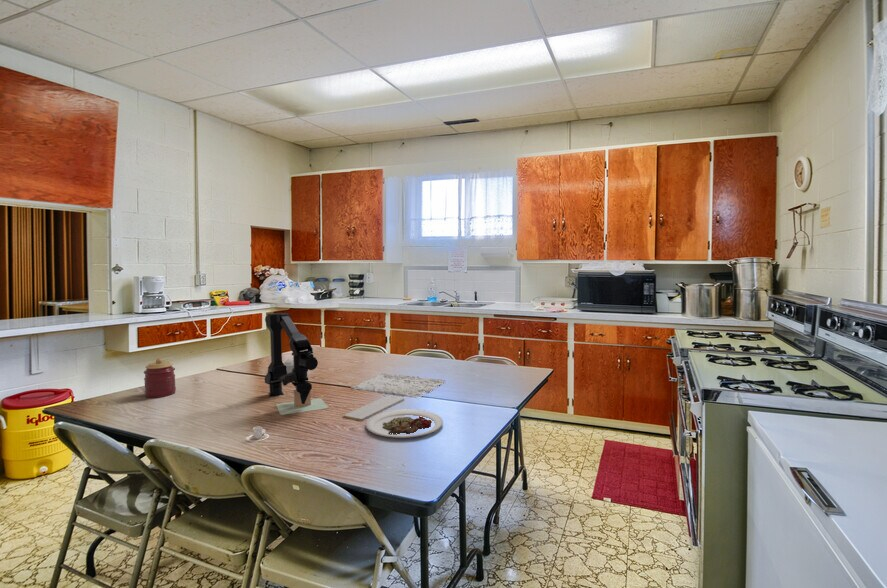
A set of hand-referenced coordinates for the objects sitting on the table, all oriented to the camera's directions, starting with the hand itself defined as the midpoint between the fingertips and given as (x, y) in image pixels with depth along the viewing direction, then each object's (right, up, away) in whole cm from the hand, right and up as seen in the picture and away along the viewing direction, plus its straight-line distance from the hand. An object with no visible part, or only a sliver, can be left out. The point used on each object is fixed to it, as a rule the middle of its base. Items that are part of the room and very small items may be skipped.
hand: (301, 400), depth 203 cm
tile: (0, -2, 0) cm, 2 cm away
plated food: (+48, -5, -24) cm, 54 cm away
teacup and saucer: (-3, -6, -33) cm, 34 cm away
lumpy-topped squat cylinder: (-22, +1, +55) cm, 59 cm away
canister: (-75, -2, +20) cm, 77 cm away
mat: (0, -3, -1) cm, 3 cm away
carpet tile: (+40, -1, +34) cm, 52 cm away
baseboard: (+32, -3, -2) cm, 32 cm away
